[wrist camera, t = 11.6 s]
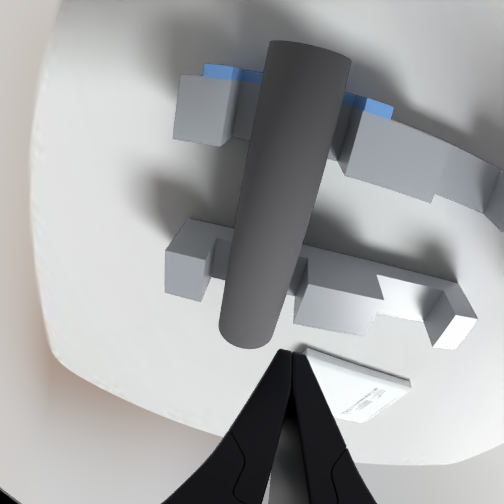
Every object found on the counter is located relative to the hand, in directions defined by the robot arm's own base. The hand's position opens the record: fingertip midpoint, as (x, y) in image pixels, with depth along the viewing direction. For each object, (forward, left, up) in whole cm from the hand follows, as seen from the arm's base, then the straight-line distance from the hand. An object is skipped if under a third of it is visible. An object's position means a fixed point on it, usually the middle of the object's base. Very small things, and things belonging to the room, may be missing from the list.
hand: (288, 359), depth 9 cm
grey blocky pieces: (-3, -1, -11) cm, 11 cm away
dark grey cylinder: (+1, -1, -9) cm, 9 cm away
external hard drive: (-9, +17, -12) cm, 22 cm away
